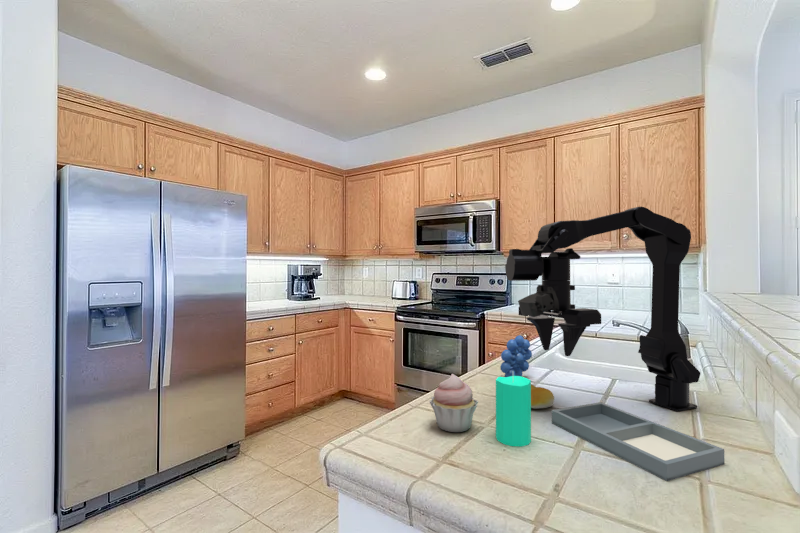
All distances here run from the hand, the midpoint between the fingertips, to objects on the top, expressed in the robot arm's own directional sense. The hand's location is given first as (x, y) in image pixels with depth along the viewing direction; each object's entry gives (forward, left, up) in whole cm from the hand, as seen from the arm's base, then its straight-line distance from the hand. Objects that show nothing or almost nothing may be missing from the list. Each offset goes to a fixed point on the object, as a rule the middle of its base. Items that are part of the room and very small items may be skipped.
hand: (556, 352), depth 83 cm
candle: (+18, +9, -12) cm, 23 cm away
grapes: (-6, -22, -12) cm, 26 cm away
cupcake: (+25, 0, -12) cm, 28 cm away
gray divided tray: (0, +17, -12) cm, 21 cm away
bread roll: (0, -2, -13) cm, 13 cm away
